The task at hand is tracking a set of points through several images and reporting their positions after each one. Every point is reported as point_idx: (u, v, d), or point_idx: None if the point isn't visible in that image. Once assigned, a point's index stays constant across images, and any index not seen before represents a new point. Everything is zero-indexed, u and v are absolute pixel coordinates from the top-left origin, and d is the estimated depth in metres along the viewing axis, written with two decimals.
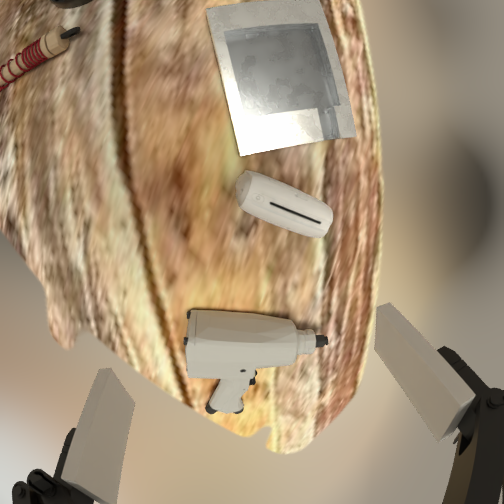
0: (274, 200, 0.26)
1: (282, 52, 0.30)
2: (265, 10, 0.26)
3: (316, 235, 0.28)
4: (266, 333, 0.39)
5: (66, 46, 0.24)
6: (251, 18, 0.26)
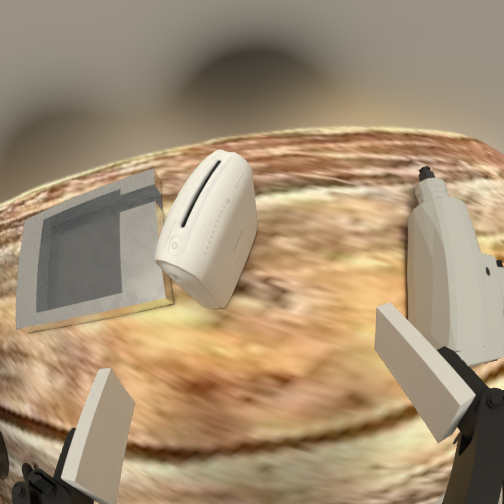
0: (178, 219, 0.16)
1: (68, 255, 0.30)
2: (25, 269, 0.27)
3: (241, 165, 0.19)
4: (429, 243, 0.22)
5: None
6: (29, 283, 0.26)
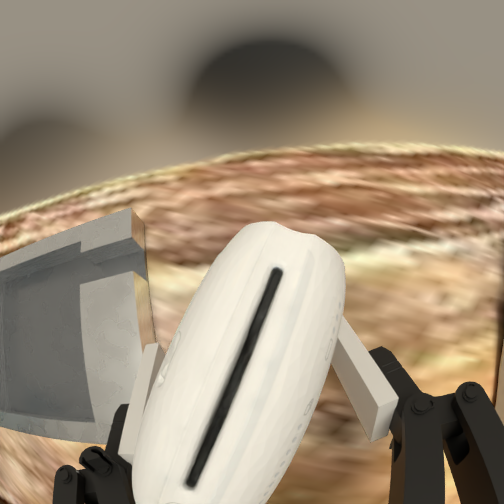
0: (173, 476, 0.04)
1: (23, 332, 0.17)
2: None
3: (335, 279, 0.07)
4: None
5: None
6: None
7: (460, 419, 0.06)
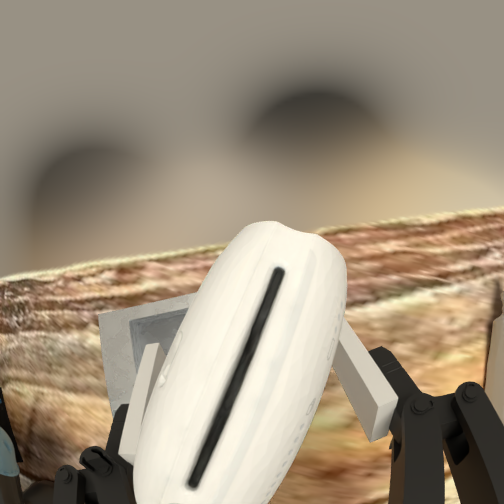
0: (175, 477, 0.04)
1: None
2: (118, 379, 0.27)
3: (337, 278, 0.07)
4: None
5: None
6: (129, 397, 0.26)
7: (460, 419, 0.06)
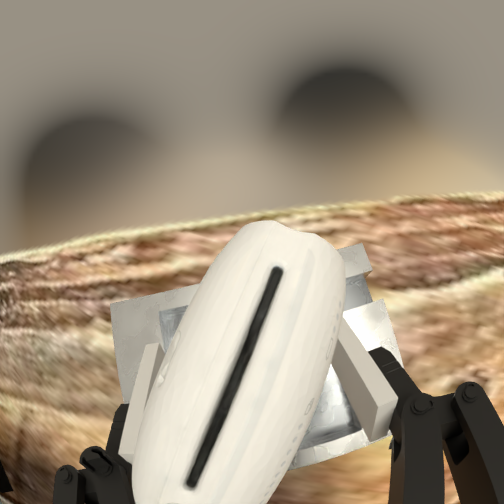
0: (173, 476, 0.04)
1: None
2: None
3: (335, 278, 0.07)
4: None
5: None
6: None
7: (460, 419, 0.06)
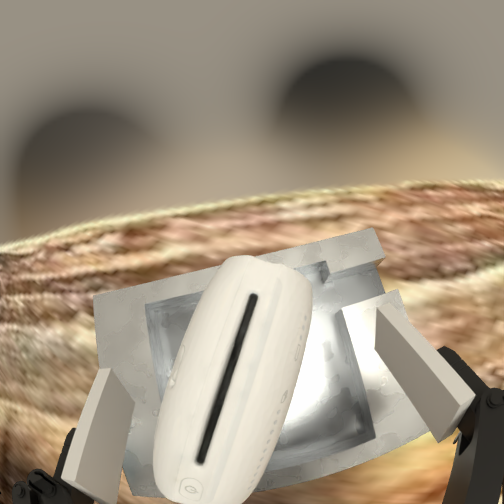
0: (187, 454, 0.06)
1: None
2: None
3: (300, 298, 0.09)
4: None
5: None
6: (148, 431, 0.15)
7: None
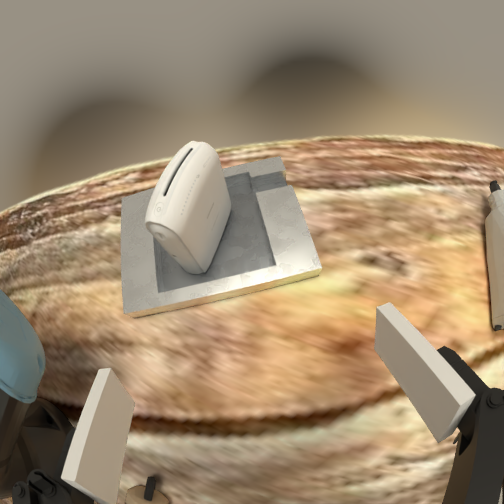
0: (161, 190, 0.22)
1: None
2: (133, 248, 0.31)
3: (208, 150, 0.24)
4: None
5: (164, 498, 0.20)
6: (143, 262, 0.30)
7: None
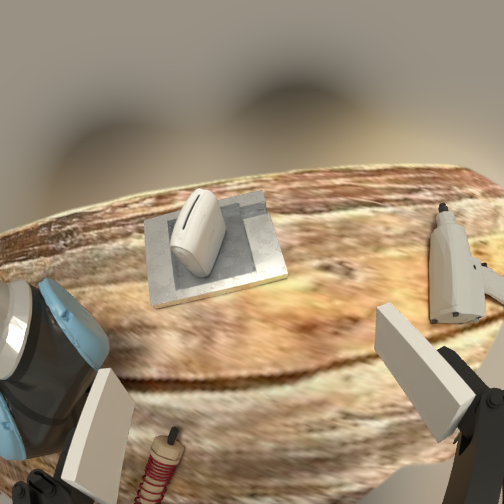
0: (180, 226, 0.35)
1: None
2: (156, 259, 0.45)
3: (210, 196, 0.38)
4: (442, 249, 0.39)
5: (181, 445, 0.33)
6: (164, 269, 0.44)
7: None
